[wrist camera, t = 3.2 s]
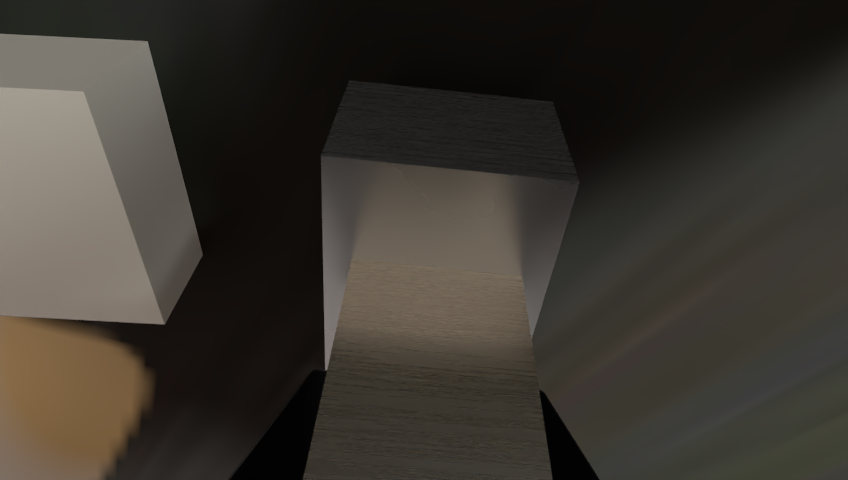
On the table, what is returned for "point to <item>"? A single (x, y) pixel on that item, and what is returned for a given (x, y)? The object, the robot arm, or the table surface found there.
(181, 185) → the tile
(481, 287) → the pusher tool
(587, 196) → the table surface
